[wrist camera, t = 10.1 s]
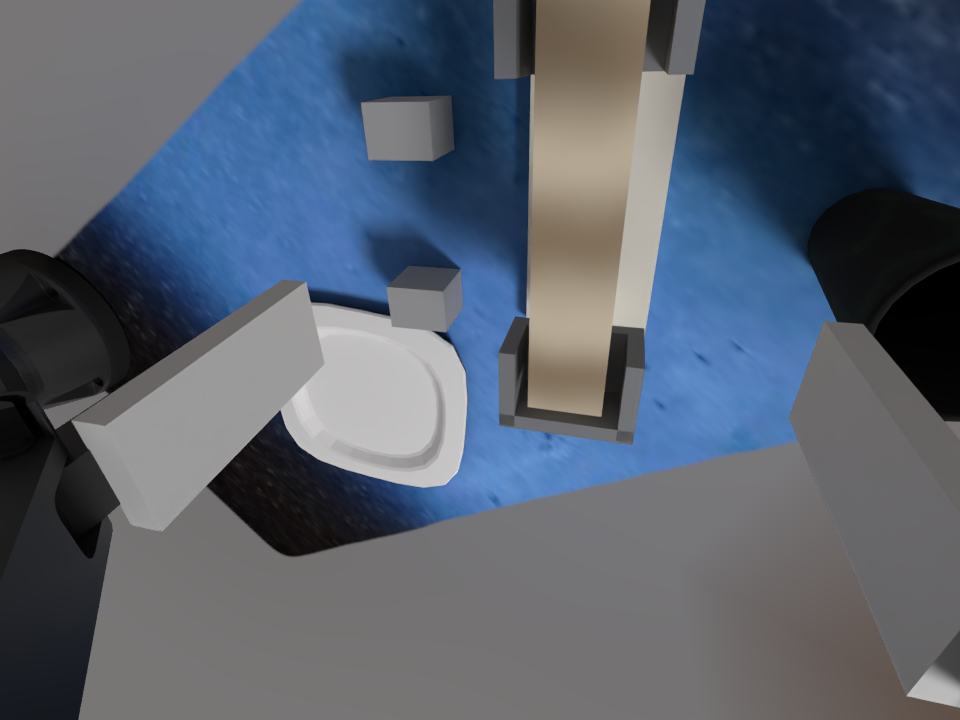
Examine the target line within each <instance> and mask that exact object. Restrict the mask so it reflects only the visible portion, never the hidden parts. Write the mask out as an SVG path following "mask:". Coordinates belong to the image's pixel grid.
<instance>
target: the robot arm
mask: <svg viewBox="0 0 960 720" xmlns="http://www.w3.org/2000/svg"><path fill="white" fill-rule="evenodd" d="M324 364H325V363H324V358H323V354H322V349H321V345H320V341H319V336H318V332H317V327H316V323H315V319H314V314H313V310H312V305H311V301H310V297H309V292H308V288H307V283H306V282H304V281H290V280H282V281H280V282H279V283H277V284H276V285H274V286H273V287H271V288H270V289H268V290H267V291H265V292H264V293H262V294H261V295H259V296H258V297H256V298H254V299H253V300H251V301H250V302H248V303H247V304H245V305H244V306H242V307H241V308H239V309H238V310H236V311H235V312H233V313H232V314H230V315H229V316H227V317H226V318H224V319H223V320H221V321H220V322H218V323H217V324H215V325H214V326H212V327H211V328H209V329H208V330H206V331H205V332H203V333H202V334H200V335H199V336H197V337H196V338H194V339H193V340H191V341H190V342H188V343H187V344H185V345H184V346H182V347H181V348H179V349H178V350H176V351H175V352H173V353H172V354H170V355H169V356H167V357H166V358H164V359H163V360H161V361H160V362H158V363H157V364H155V365H154V366H152V367H149V368H148V369H146V370H145V371H143V372H142V373H140V374H139V375H137V376H136V377H134V378H133V379H131V381H130V382H127V383H125V384H124V385H122V386H121V387H119V388H118V389H116V390H115V392H113V393H110V394H109V395H107V396H106V397H104V398H103V399H101V400H100V401H98V402H97V403H95V404H94V405H92V406H90V407H89V408H87V409H86V410H84V411H83V412H82V413H80V414H79V415H77V416H75V417H74V418H72V419H71V420H70V421H68V422H66V423H65V424H63V425H62V426H60V427H59V428H57V429H56V430H55V429H54V427H53V425H52V424H51V422H50V420H49V419H48V417H47V415H46V414H45V412H44V410H45V409H49V408H52V407H56V406H59V405H63V404H66V403H70V402H73V401H77V400H80V399H84V398H87V397H91V396H94V395H97V394H100V393H102V392H104V391H105V390H107V389H109V388H110V387H112V386H113V385H115V384H116V383H118V382H119V381H121V380H122V379H123V378H124V377H125V376H126V374H127V372H128V370H129V367H130V349H129V345H128V341H127V338H126V335H125V333H124V330H123V328H122V326H121V324H120V322H119V321H118V319H117V317H116V316H115V314H114V312H113V311H112V309H111V308H110V307H109V305H108V304H107V303H106V301H105V300H104V299H103V298H102V297H101V295H100V294H99V293H98V292H97V291H96V290H95V289H94V288H93V287H92V286H91V285H90V284H89V283H88V282H87V281H86V280H85V279H84V278H82V277H81V276H80V275H79V274H78V273H76V272H75V271H74V270H72V269H71V268H69V267H68V266H66V265H65V264H63V263H62V262H60V261H58V260H56V259H54V258H52V257H50V256H48V255H45V254H43V253H40V252H36V251H32V250H26V249H19V250H12V251H9V252H6V253H3V254H0V720H78V718H79V713H80V707H81V702H82V696H83V691H84V685H85V679H86V674H87V669H88V663H89V658H90V652H91V647H92V641H93V636H94V630H95V625H96V619H97V614H98V608H99V603H100V597H101V592H102V586H103V581H104V575H105V570H106V564H107V559H108V553H109V548H110V542H111V537H112V531H113V529H112V523H111V521H110V520H109V518H108V516H107V515H108V514H110V513H111V512H112V511H113V510H114V509H115V508H116V507H117V506H119V505H120V506H121V508H122V509H123V511H124V513H125V515H126V516H127V518H128V520H129V522H130V523H131V525H134V526H139V527H144V528H148V529H152V530H157V531H161V532H162V531H163V530H164V529H165V528H166V527H167V526H168V525H169V524H170V522H171V521H173V520H174V518H175V517H176V516H177V515H178V514H179V513H180V512H181V511H182V510H183V509H184V508H185V507H186V506H187V505H188V504H189V503H190V502H191V501H192V500H193V499H194V498H195V497H196V496H197V495H198V494H199V493H200V492H201V491H202V490H203V489H204V488H205V487H206V486H207V485H208V483H209V482H210V481H211V480H212V479H213V478H214V477H215V476H216V475H217V474H218V473H219V472H220V471H221V470H222V469H223V468H224V467H225V466H226V465H227V464H228V463H229V462H230V461H231V460H232V459H233V458H234V457H235V456H236V455H237V454H238V453H239V452H240V451H241V450H242V449H243V447H244V446H245V445H246V444H247V443H248V442H249V441H250V440H251V439H252V438H253V437H254V436H255V435H256V434H257V433H258V432H259V431H260V430H261V429H262V428H263V427H264V426H265V425H266V424H267V423H268V422H269V421H270V420H271V419H272V418H273V417H274V416H275V415H276V414H277V412H278V411H279V410H280V409H281V408H282V407H283V406H284V405H285V404H286V403H287V402H288V401H289V400H290V399H291V398H292V397H293V396H294V395H295V394H296V393H297V392H298V391H299V390H300V389H301V388H302V387H303V386H304V385H305V384H306V383H307V382H308V381H309V380H310V379H311V377H312V376H313V375H314V374H315V373H316V372H317V371H318V370H319V369H320V368H321V367H322V366H323V365H324ZM789 420H790V422H791V424H792V427H793V429H794V432H795V434H796V436H797V439H798V441H799V443H800V446H801V448H802V450H803V453H804V455H805V458H806V460H807V462H808V464H809V467H810V469H811V472H812V474H813V476H814V478H815V481H816V483H817V486H818V488H819V491H820V493H821V495H822V498H823V500H824V502H825V505H826V507H827V509H828V512H829V514H830V517H831V519H832V521H833V524H834V526H835V528H836V531H837V533H838V535H839V538H840V540H841V543H842V545H843V547H844V550H845V552H846V554H847V557H848V559H849V561H850V564H851V566H852V568H853V571H854V573H855V575H856V578H857V580H858V583H859V585H860V587H861V590H862V592H863V595H864V597H865V599H866V601H867V604H868V606H869V608H870V611H871V613H872V616H873V618H874V620H875V623H876V625H877V627H878V630H879V632H880V635H881V637H882V639H883V642H884V644H885V646H886V649H887V651H888V654H889V656H890V658H891V661H892V663H893V665H894V667H895V670H896V672H897V674H898V677H899V680H900V682H901V684H902V686H903V689H904V691H905V694H906V696H910V697H914V698H919V699H923V700H928V701H932V702H937V703H941V704H946V705H951V706H955V707H959V708H960V440H959V438H958V437H957V436H956V435H955V434H954V432H953V431H952V430H951V429H950V428H949V426H948V425H947V424H946V423H945V422H944V420H943V419H942V418H941V417H940V416H939V414H938V413H937V412H936V411H935V410H934V408H933V407H932V406H931V405H930V404H929V402H928V401H927V400H926V399H925V398H924V397H923V395H922V394H921V393H920V392H919V391H918V389H917V388H916V387H915V386H914V385H913V383H912V382H911V381H910V380H909V379H908V377H907V376H906V375H905V374H904V373H903V371H902V370H901V369H900V368H899V367H898V365H897V364H896V363H895V362H894V361H893V359H892V358H891V357H890V356H889V355H888V353H887V352H886V351H885V350H884V349H883V347H882V346H881V345H880V344H879V343H878V341H877V340H876V339H875V338H874V337H873V335H872V334H871V333H870V332H869V331H868V330H867V328H866V327H865V326H864V325H863V324H855V323H841V322H828V321H824V323H823V326H822V328H821V331H820V334H819V337H818V339H817V342H816V345H815V348H814V350H813V353H812V356H811V359H810V361H809V364H808V367H807V370H806V372H805V375H804V378H803V381H802V383H801V386H800V389H799V392H798V394H797V397H796V400H795V403H794V405H793V408H792V411H791V414H790V416H789Z"/></svg>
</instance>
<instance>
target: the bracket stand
mask: <svg viewBox="0 0 960 720" xmlns="http://www.w3.org/2000/svg"><path fill="white" fill-rule="evenodd" d="M705 1H706V0H651V2H650V11H649V19H648V28H647V36H646V45H645V53H644V61H643V70H642V78H641V87H640V95H639V104H638V112H637V121H636V129H635V137H634V146H633V154H632V163H631V171H630V180H629V188H628V196H627V205H626V213H625V222H624V230H623V239H622V247H621V256H620V264H619V272H618V281H617V289H616V298H615V306H614V315H613V323H612V332H611V340H610V348H609V357H608V365H607V374H606V382H605V391H604V399H603V408H602V416H601V417H599V416H591V415H584V414H576V413H569V412H561V411H554V410H546V409H539V408H531V407H528V367H529V321H530V275H531V229H532V183H533V137H534V91H535V45H536V0H493V17H494V79H517V78H521V77H524V76H528V75H531V90H530V145H529V201H528V256H527V312H526V318H524V317H515V318H514V321H513V323H512V325H511V327H510V329H509V331H508V333H507V336H506V338H505V340H504V342H503V344H502V346H501V349H500V351H499V353H498V354H499V421H500V426H504V427H511V428H518V429H525V430H532V431H539V432H546V433H553V434H560V435H567V436H573V437H580V438H587V439H594V440H601V441H608V442H615V443H622V444H629V445H632V444H633V438H634V432H635V425H636V419H637V413H638V407H639V401H640V395H641V389H642V383H643V377H644V371H645V348H644V336H645V330H646V323H647V317H648V311H649V304H650V298H651V292H652V285H653V279H654V273H655V266H656V260H657V254H658V247H659V241H660V235H661V228H662V222H663V216H664V210H665V203H666V197H667V191H668V184H669V178H670V172H671V165H672V159H673V153H674V146H675V140H676V134H677V127H678V121H679V115H680V108H681V102H682V96H683V89H684V83H685V77H686V74H694V68H695V62H696V55H697V49H698V43H699V37H700V31H701V25H702V19H703V13H704V7H705Z"/></svg>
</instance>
